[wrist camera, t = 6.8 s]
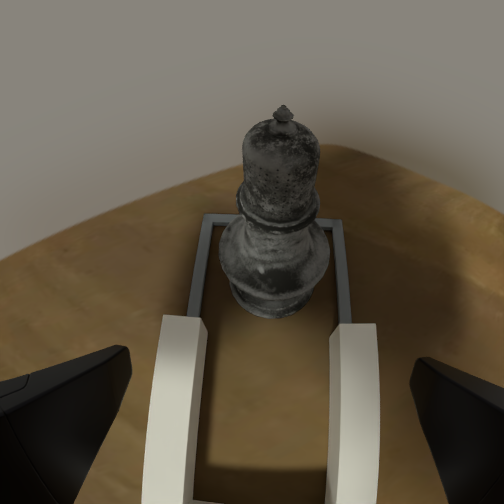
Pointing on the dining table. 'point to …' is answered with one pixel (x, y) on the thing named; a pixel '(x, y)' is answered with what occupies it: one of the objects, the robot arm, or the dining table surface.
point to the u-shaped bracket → (188, 408)
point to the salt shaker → (276, 221)
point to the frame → (224, 220)
